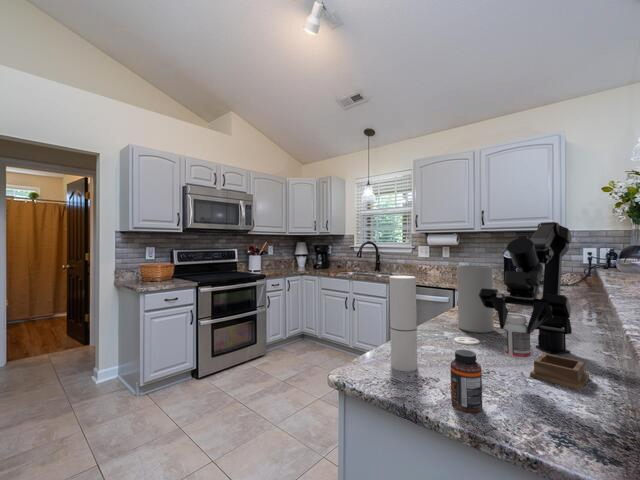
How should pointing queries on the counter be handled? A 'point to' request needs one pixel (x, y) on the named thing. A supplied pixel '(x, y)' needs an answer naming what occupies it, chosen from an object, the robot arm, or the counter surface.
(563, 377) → the socket block
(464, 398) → the supplement bottle
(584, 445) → the counter surface
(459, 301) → the cylinder vase
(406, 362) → the cylindrical container
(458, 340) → the pendant
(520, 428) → the counter surface
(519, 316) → the pill bottle
